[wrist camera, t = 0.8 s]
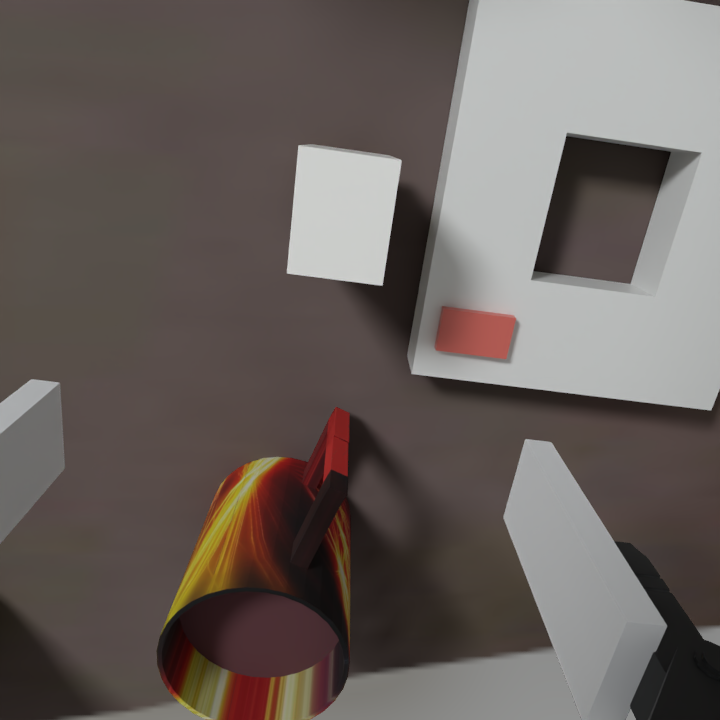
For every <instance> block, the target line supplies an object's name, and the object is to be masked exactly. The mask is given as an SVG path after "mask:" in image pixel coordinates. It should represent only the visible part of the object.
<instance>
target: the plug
mask: <svg viewBox="0 0 720 720" xmlns="http://www.w3.org/2000/svg"><path fill="white" fill-rule="evenodd" d="M401 161H402V160H400V159H397V158H395V157H392V156H390V155H383V154H376V153H369V152H362V151H355V150H348V149H341V148H334V147H328V146H321V145H314V144H310V145H299V146H298V157H297V168H296V179H295V190H294V201H293V212H292V223H291V234H290V245H289V256H288V267H287V273H288V274H296V275H303V276H311V277H319V278H326V279H334V280H342V281H349V282H357V283H365V284H372V285H380V286H383V280H384V273H385V267H386V260H387V253H388V247H389V240H390V234H391V227H392V221H393V214H394V207H395V201H396V194H397V188H398V181H399V175H400V168H401Z"/></svg>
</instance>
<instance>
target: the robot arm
mask: <svg viewBox="0 0 720 720" xmlns="http://www.w3.org/2000/svg"><path fill="white" fill-rule="evenodd" d="M64 469H65V462H64V444H63V427H62V409H61V392H60V383H58V382H50V381H41V380H33V379H31V380H30V381H29V382H27V383H26V384H25V385H23V386H22V387H21V388H19V389H18V390H17V391H16V392H14V393H13V394H12V395H10V396H9V397H8V398H6V399H5V400H4V401H3V402H1V403H0V544H1V542H2V541H3V540H4V539H5V538H6V537H7V535H8V534H9V533H10V532H11V531H12V529H13V528H14V527H15V526H16V525H17V524H18V522H19V521H20V520H21V519H22V518H23V517H24V515H25V514H26V513H27V512H28V511H29V510H30V508H31V507H32V506H33V505H34V504H35V503H36V501H37V500H38V499H39V498H40V497H41V496H42V494H43V493H44V492H45V491H46V490H47V489H48V487H49V486H50V485H51V484H52V483H53V482H54V480H55V479H56V478H57V477H58V476H59V475H60V473H61V472H62V471H63V470H64ZM503 518H504V521H505V523H506V526H507V528H508V531H509V534H510V536H511V539H512V541H513V544H514V546H515V549H516V552H517V554H518V557H519V559H520V562H521V565H522V567H523V570H524V572H525V575H526V578H527V580H528V583H529V585H530V588H531V591H532V593H533V596H534V598H535V601H536V604H537V606H538V609H539V611H540V614H541V616H542V619H543V622H544V624H545V627H546V629H547V632H548V635H549V637H550V640H551V642H552V645H553V648H554V650H555V653H556V655H557V658H558V660H559V663H560V666H561V668H562V671H563V673H564V676H565V679H566V681H567V684H568V686H569V689H570V691H571V694H572V697H573V699H574V702H575V705H576V707H577V710H578V712H579V715H580V718H581V720H626V718H627V715H628V713H629V711H630V709H632V712H633V713H634V716H635V718H636V720H720V646H718V645H716V644H713V643H711V642H709V641H706V640H704V639H703V638H702V636H701V635H700V633H699V632H698V631H697V629H696V628H695V626H694V625H693V623H692V622H691V620H690V619H689V617H688V616H687V615H686V613H685V612H684V610H683V609H682V607H681V606H680V604H679V603H678V601H677V600H676V598H675V597H674V596H673V594H672V593H670V592H669V588H668V587H667V585H666V584H665V582H664V581H663V580H662V579H660V575H659V574H658V572H657V571H656V569H655V568H654V566H653V565H652V564H651V562H650V561H649V559H648V558H647V557H646V556H644V555H643V554H642V553H641V552H640V551H639V550H637V549H636V548H635V547H634V546H633V545H631V544H630V543H624V542H615V541H613V539H612V538H611V536H610V534H609V533H608V531H607V530H606V528H605V526H604V525H603V523H602V522H601V520H600V519H599V517H598V515H597V514H596V512H595V511H594V509H593V508H592V506H591V504H590V503H589V501H588V500H587V498H586V496H585V495H584V493H583V492H582V490H581V489H580V487H579V485H578V484H577V482H576V481H575V479H574V477H573V476H572V474H571V473H570V471H569V470H568V468H567V466H566V465H565V463H564V462H563V460H562V458H561V457H560V455H559V454H558V452H557V451H556V449H555V447H554V446H553V444H552V443H551V442H546V441H537V440H529V439H525V442H524V446H523V449H522V453H521V456H520V460H519V464H518V467H517V471H516V474H515V478H514V481H513V485H512V488H511V492H510V495H509V499H508V503H507V506H506V510H505V513H504V517H503Z"/></svg>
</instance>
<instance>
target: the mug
mask: <svg viewBox="0 0 720 720" xmlns="http://www.w3.org/2000/svg"><path fill="white" fill-rule="evenodd" d="M348 443H349V413H348V412H346V411H344V410H342V409H340V408H337V407H336V408H335V409H334V411H333V413H332V415H331V416H330V418H329V420H328V422H327V424H326V426H325V428H324V430H323V433H322V435H321V437H320V439H319V441H318V443H317V445H316V447H315V449H314V451H313V453H312V455H311V457H310V459H309V462H306V461H302V460H298V459H294V458H285V457H272V458H263V459H259V460H256V461H252V462H249V463H247V464H245V465H243V466H241V467H239V468H238V469H236V470H235V471H234V472H233V473H231V474H230V475H229V476H228V477H227V478H226V479H225V480H224V481H223V483H222V484H221V485H220V487H219V489H218V491H217V493H216V495H215V497H214V499H213V502H212V504H211V507H210V510H209V512H208V515H207V517H206V520H205V522H204V525H203V528H202V530H201V533H200V535H199V538H198V540H197V543H196V545H195V548H194V551H193V553H192V556H191V558H190V561H189V563H188V566H187V568H186V571H185V574H184V576H183V579H182V581H181V584H180V586H179V589H178V591H177V594H176V597H175V599H174V602H173V604H172V607H171V609H170V612H169V615H168V617H167V620H166V622H165V625H164V627H163V630H162V632H161V635H160V638H159V643H158V647H157V665H158V669H159V672H160V675H161V678H162V680H163V682H164V684H165V685H166V687H167V689H168V690H169V692H170V693H171V694H172V695H173V696H174V697H175V698H176V700H177V701H178V702H179V703H180V704H182V705H183V706H185V708H187V709H188V710H190V711H191V712H192V713H194V714H196V715H197V716H199V717H201V718H203V719H205V720H310V719H312V718H313V717H315V716H317V715H318V714H320V713H321V712H323V711H324V710H325V709H326V708H328V707H329V706H330V705H331V704H332V703H333V702H334V701H335V700H336V698H337V697H338V695H339V694H340V693H341V691H342V690H343V688H344V685H345V683H346V680H347V677H348V672H349V663H350V540H351V515H350V508H349V503H348V501H347V498H346V496H347V486H348Z"/></svg>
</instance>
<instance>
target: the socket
mask: <svg viewBox="0 0 720 720" xmlns="http://www.w3.org/2000/svg"><path fill="white" fill-rule="evenodd" d="M566 136H569V137H576V138H583V139H589V140H596V141H603V142H610V143H616V144H623V145H630V146H637V147H643V148H650V149H657V150H663V151H670V152H671V154H670V157H669V161H668V164H667V167H666V170H665V174H664V177H663V180H662V183H661V187H660V190H659V193H658V196H657V200H656V203H655V206H654V209H653V213H652V216H651V219H650V222H649V226H648V229H647V232H646V235H645V239H644V242H643V245H642V248H641V252H640V255H639V258H638V261H637V265H636V268H635V271H634V274H633V278H632V281H631V284H626V283H619V282H612V281H604V280H597V279H589V278H582V277H574V276H567V275H559V274H552V273H544V272H537V271H533V270H534V266H535V261H536V257H537V253H538V249H539V245H540V241H541V237H542V233H543V229H544V225H545V221H546V217H547V212H548V208H549V204H550V200H551V196H552V192H553V188H554V184H555V180H556V176H557V172H558V167H559V163H560V159H561V155H562V151H563V147H564V143H565V139H566ZM407 358H408V362H409V366H410V370H411V374H416V375H424V376H432V377H440V378H448V379H457V380H465V381H473V382H481V383H489V384H498V385H506V386H514V387H522V388H530V389H539V390H547V391H555V392H563V393H571V394H580V395H588V396H596V397H604V398H612V399H621V400H629V401H637V402H645V403H654V404H662V405H670V406H678V407H686V408H695V409H703V410H712V407H713V405H714V402H715V400H716V397H717V395H718V392H719V389H720V6H715V5H709V4H703V3H697V2H691V1H685V0H469V5H468V11H467V17H466V22H465V28H464V34H463V39H462V45H461V51H460V57H459V62H458V68H457V74H456V79H455V85H454V91H453V97H452V102H451V108H450V114H449V119H448V125H447V131H446V136H445V142H444V148H443V154H442V159H441V165H440V171H439V176H438V182H437V188H436V193H435V199H434V205H433V211H432V216H431V222H430V228H429V233H428V239H427V245H426V250H425V256H424V262H423V268H422V273H421V279H420V285H419V290H418V296H417V302H416V307H415V313H414V319H413V325H412V330H411V336H410V342H409V347H408V353H407Z"/></svg>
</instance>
